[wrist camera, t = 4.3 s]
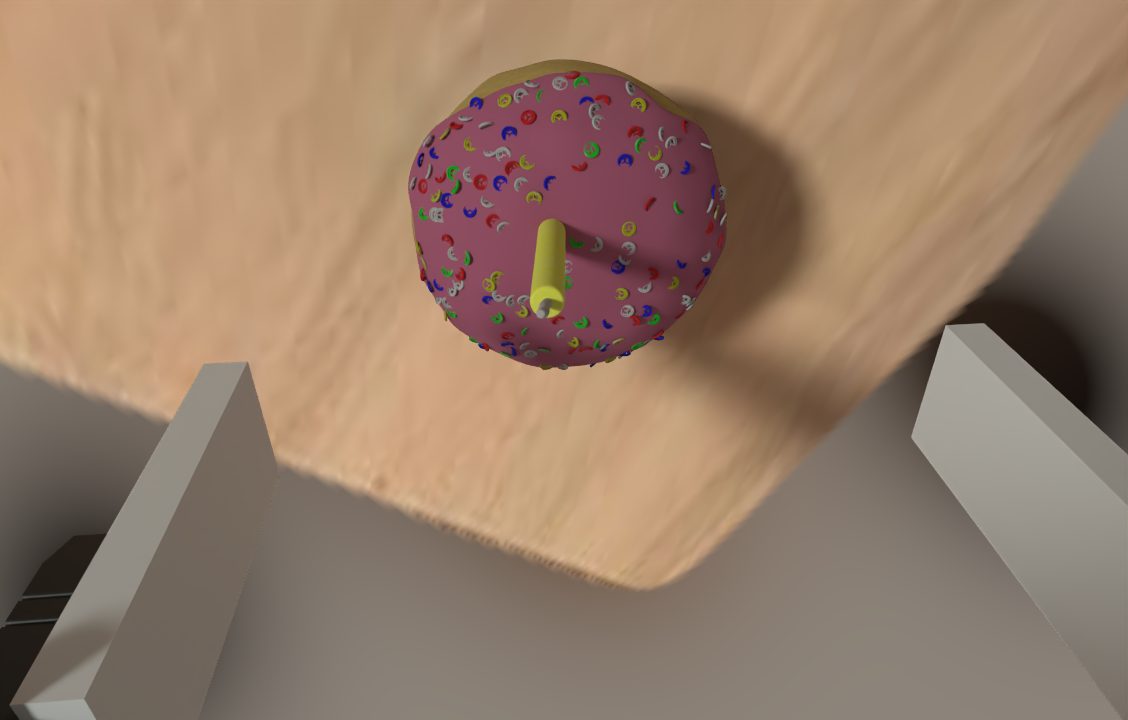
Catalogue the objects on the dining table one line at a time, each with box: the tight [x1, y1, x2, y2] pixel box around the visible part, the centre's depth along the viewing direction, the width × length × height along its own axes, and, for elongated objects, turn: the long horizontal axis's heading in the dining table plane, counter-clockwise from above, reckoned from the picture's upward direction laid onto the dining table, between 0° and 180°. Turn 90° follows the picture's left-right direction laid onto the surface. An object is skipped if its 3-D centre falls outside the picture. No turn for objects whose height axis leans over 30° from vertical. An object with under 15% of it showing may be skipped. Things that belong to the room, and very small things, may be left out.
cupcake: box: [408, 60, 727, 370], centre depth 19 cm, size 9×8×12 cm
